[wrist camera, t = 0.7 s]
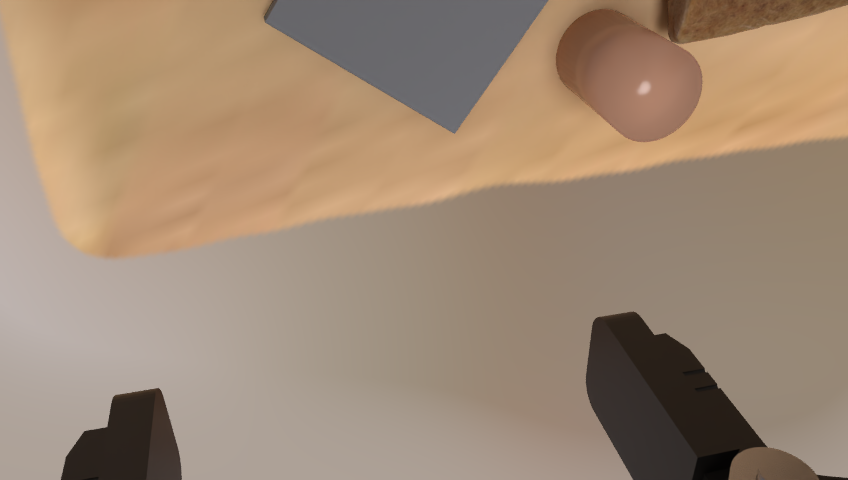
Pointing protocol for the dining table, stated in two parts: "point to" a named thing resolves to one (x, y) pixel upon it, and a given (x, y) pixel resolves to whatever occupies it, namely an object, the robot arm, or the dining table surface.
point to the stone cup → (735, 16)
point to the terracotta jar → (629, 74)
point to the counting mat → (413, 45)
